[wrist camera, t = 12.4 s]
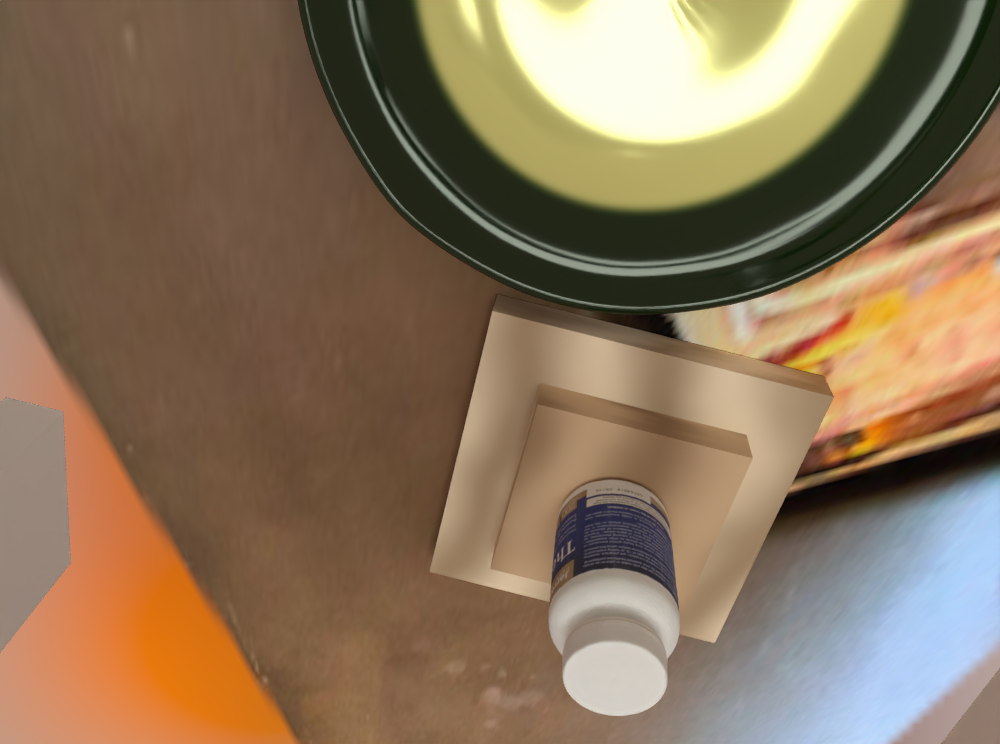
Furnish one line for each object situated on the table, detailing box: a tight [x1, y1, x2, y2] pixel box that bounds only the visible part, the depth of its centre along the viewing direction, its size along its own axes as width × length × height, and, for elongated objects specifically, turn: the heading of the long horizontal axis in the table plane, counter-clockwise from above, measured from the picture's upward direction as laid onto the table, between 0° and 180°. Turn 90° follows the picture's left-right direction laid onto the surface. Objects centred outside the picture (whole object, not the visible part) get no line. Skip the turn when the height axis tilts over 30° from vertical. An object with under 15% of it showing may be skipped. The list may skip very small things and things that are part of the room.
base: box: [430, 294, 834, 643], centre depth 42 cm, size 16×16×4 cm
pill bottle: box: [548, 479, 680, 716], centre depth 36 cm, size 5×5×10 cm
